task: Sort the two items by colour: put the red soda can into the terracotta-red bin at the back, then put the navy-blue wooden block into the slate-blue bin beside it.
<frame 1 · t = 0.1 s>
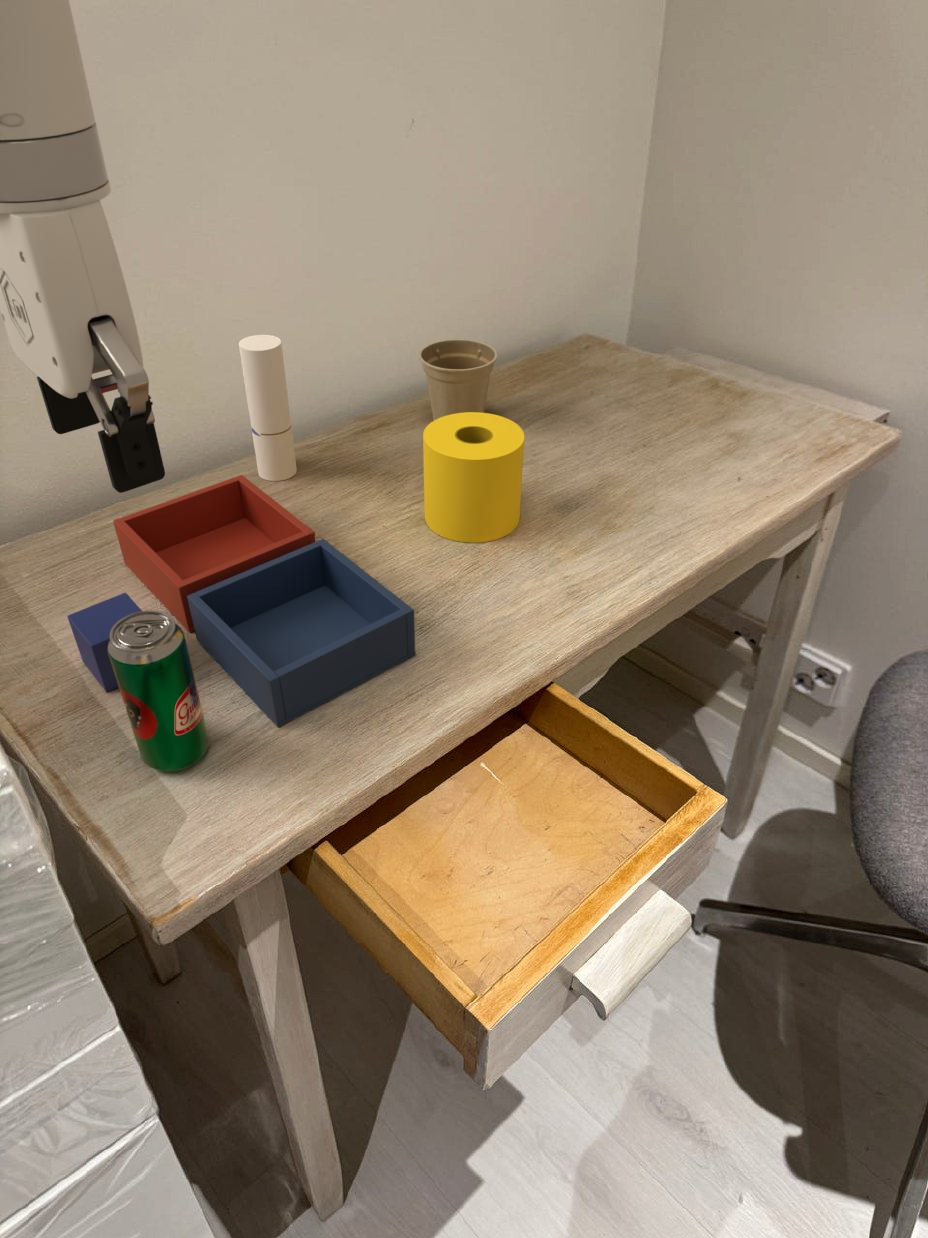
hand: (107, 454, 58), 22 cm above the table, tool pointing down, fingers open, 9 cm apart
tape roll: (472, 517, 94), on the table
flower pot: (457, 421, 111), on the table
soda can: (177, 752, 68), on the table
red bin: (221, 569, 86), on the table
blue block: (123, 664, 75), on the table
blue bin: (305, 648, 77), on the table
tube: (277, 472, 101), on the table
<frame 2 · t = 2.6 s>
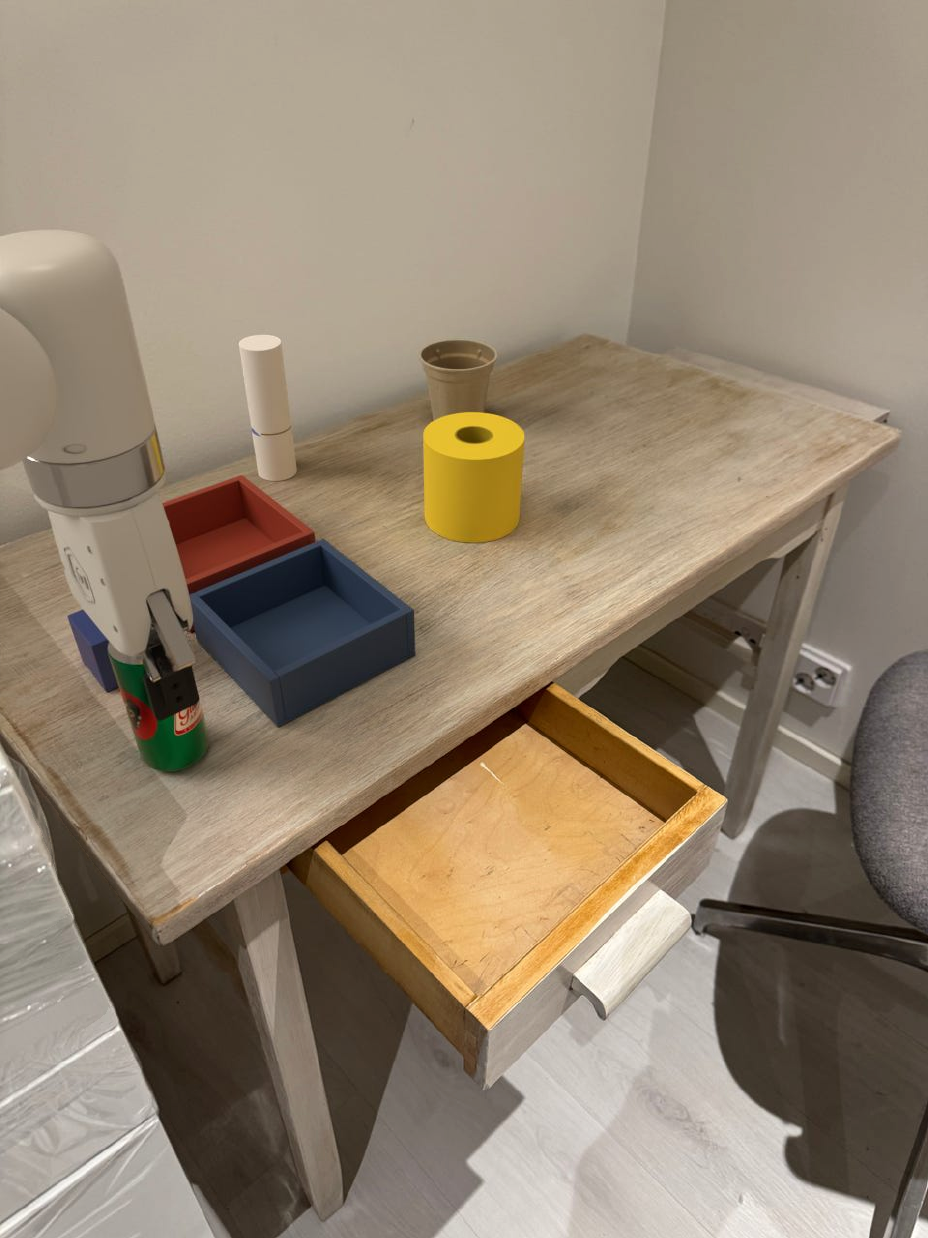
hand: (158, 685, 64), 7 cm above the table, tool pointing down, fingers closed on soda can, 5 cm apart
soda can: (177, 752, 68), on the table, touching gripper
everything else where it was.
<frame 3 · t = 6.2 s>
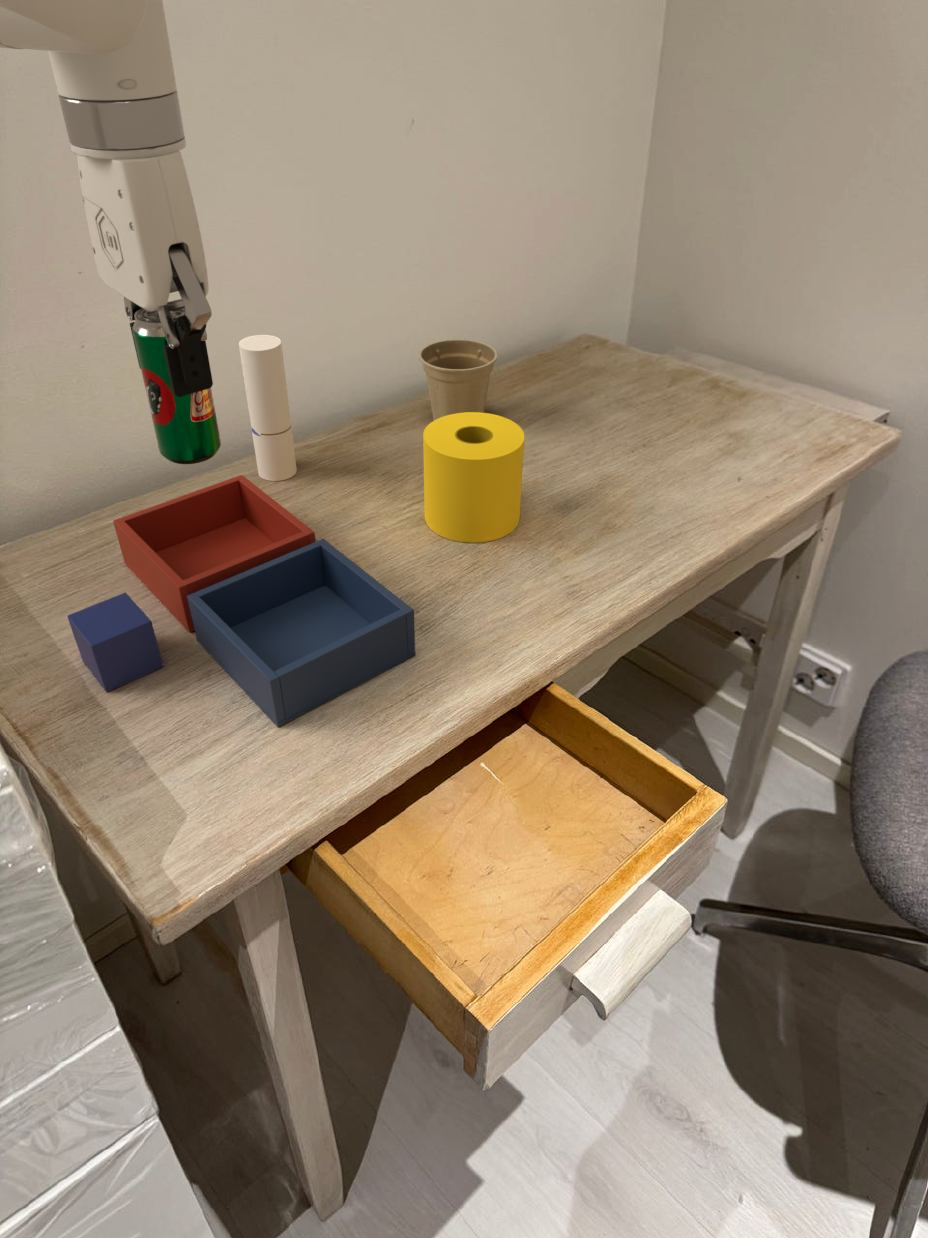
hand: (176, 376, 71), 21 cm above the table, tool pointing down, fingers closed on soda can, 5 cm apart
soda can: (192, 454, 76), point 14 cm above the table, touching gripper
everything else where it was.
when the fingers open (7 cm above the table, at t = 9.7 s): soda can stays where it is, resting on red bin.
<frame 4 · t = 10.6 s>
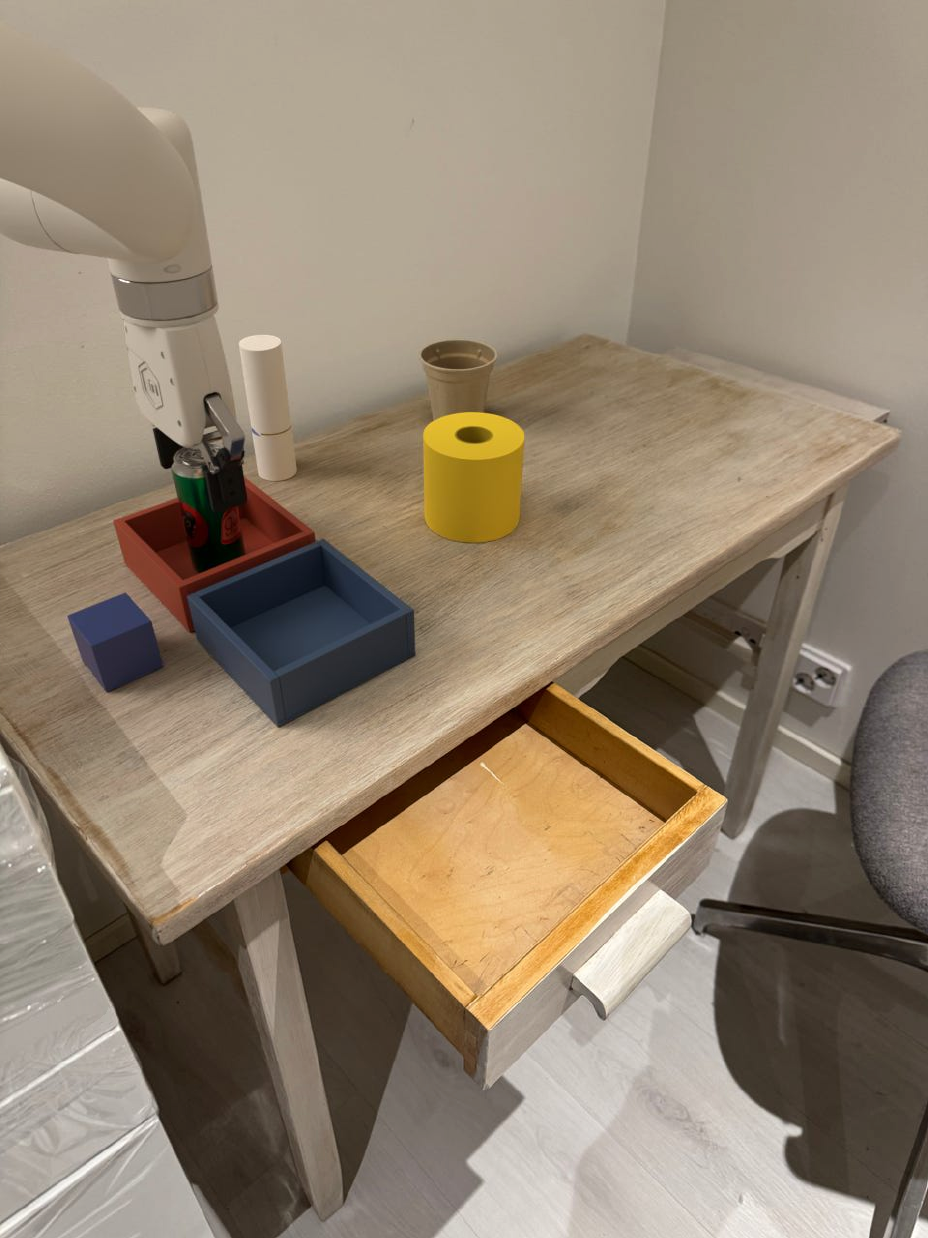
hand: (203, 484, 80), 10 cm above the table, tool pointing down, fingers open, 9 cm apart
soda can: (220, 567, 86), resting on red bin
everything else where it was.
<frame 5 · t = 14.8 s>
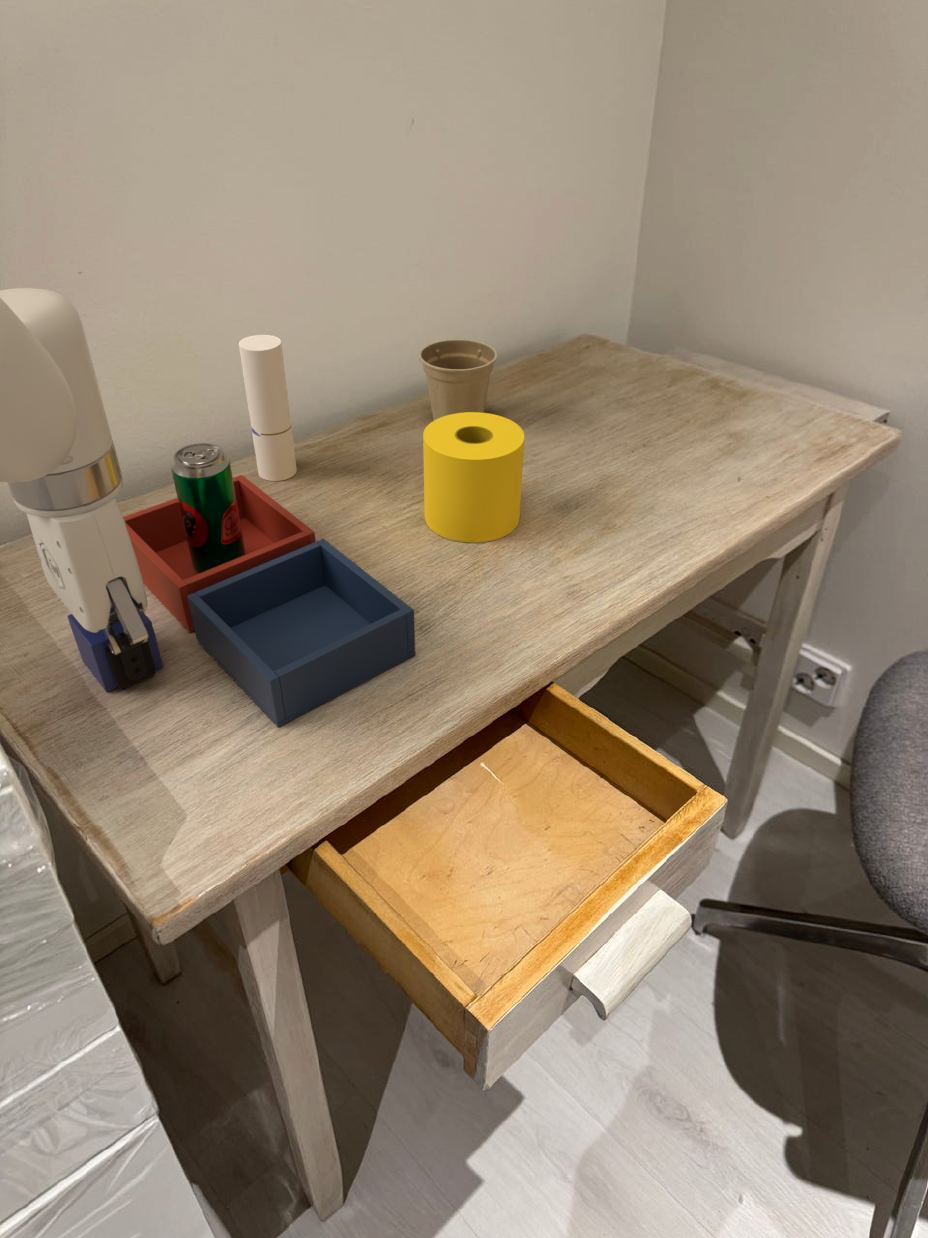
hand: (122, 660, 75), 0 cm above the table, tool pointing down, fingers closed on blue block, 5 cm apart
blue block: (123, 664, 75), on the table, touching gripper
everything else where it was.
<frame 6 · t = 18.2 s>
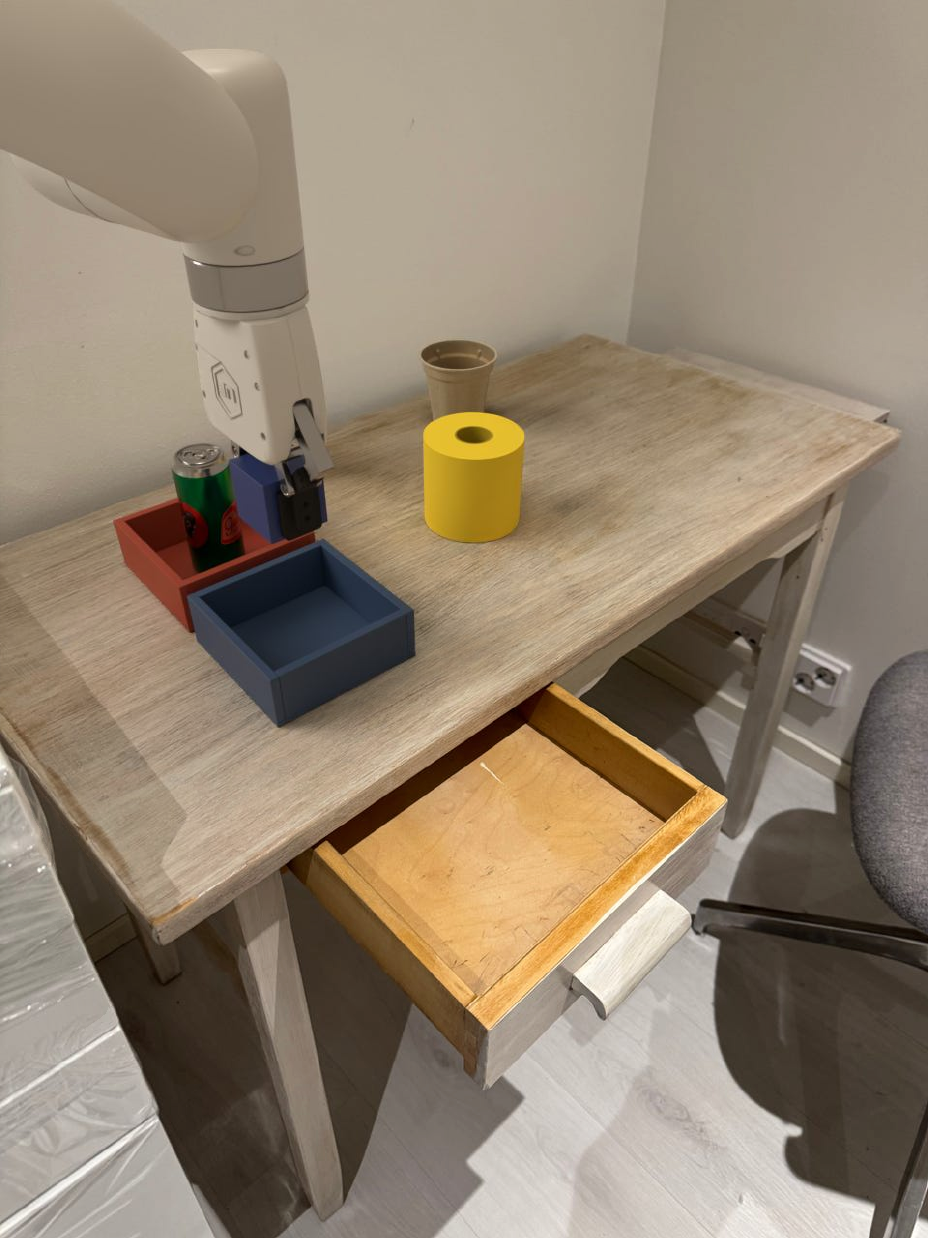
hand: (282, 514, 69), 14 cm above the table, tool pointing down, fingers closed on blue block, 5 cm apart
blue block: (283, 519, 69), point 13 cm above the table, touching gripper
everything else where it was.
when the fingers open (2 cm above the table, at t = 21.5 s): blue block stays where it is, resting on blue bin.
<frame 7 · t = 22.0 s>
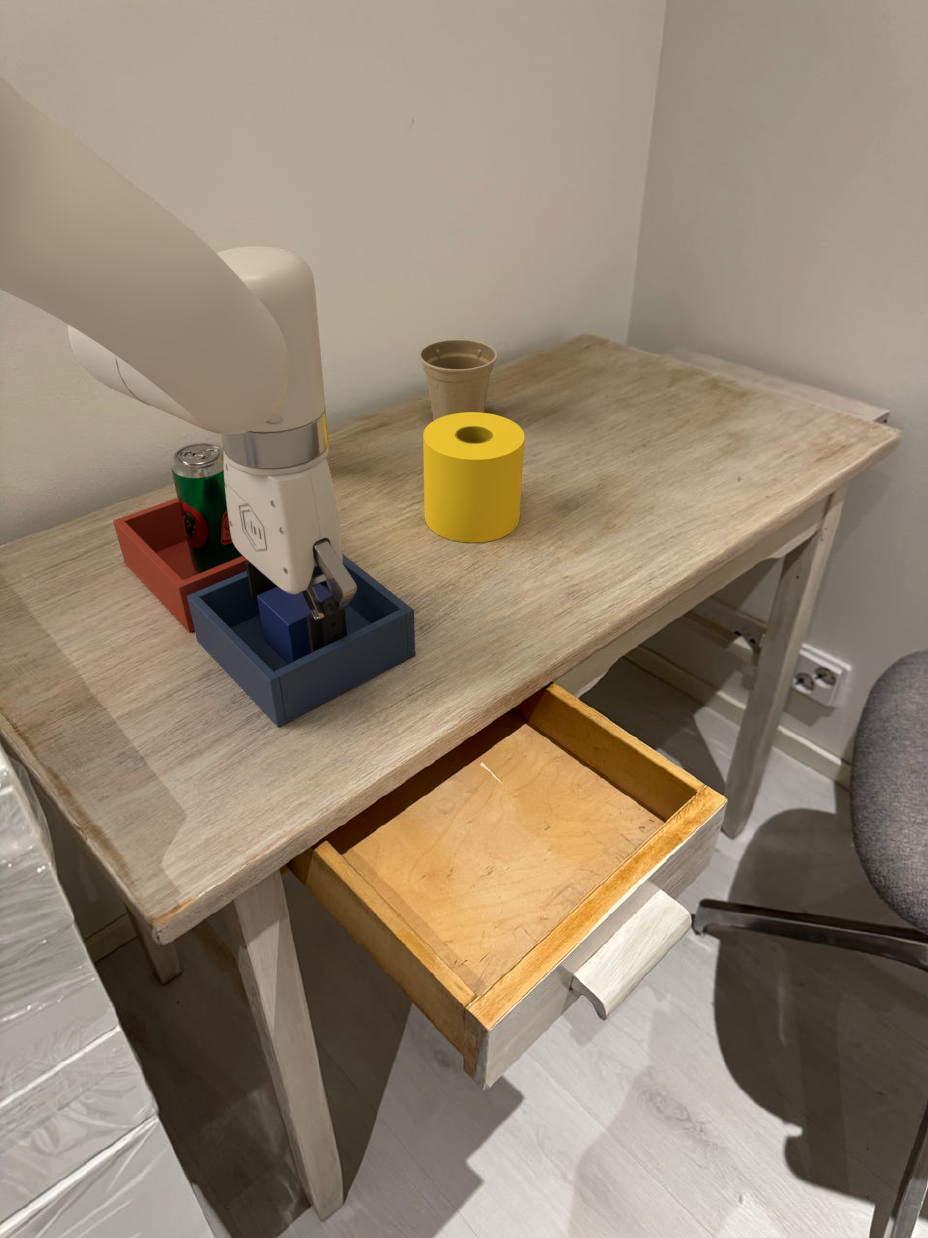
hand: (298, 619, 75), 3 cm above the table, tool pointing down, fingers open, 9 cm apart
blue block: (304, 644, 77), resting on blue bin
everything else where it was.
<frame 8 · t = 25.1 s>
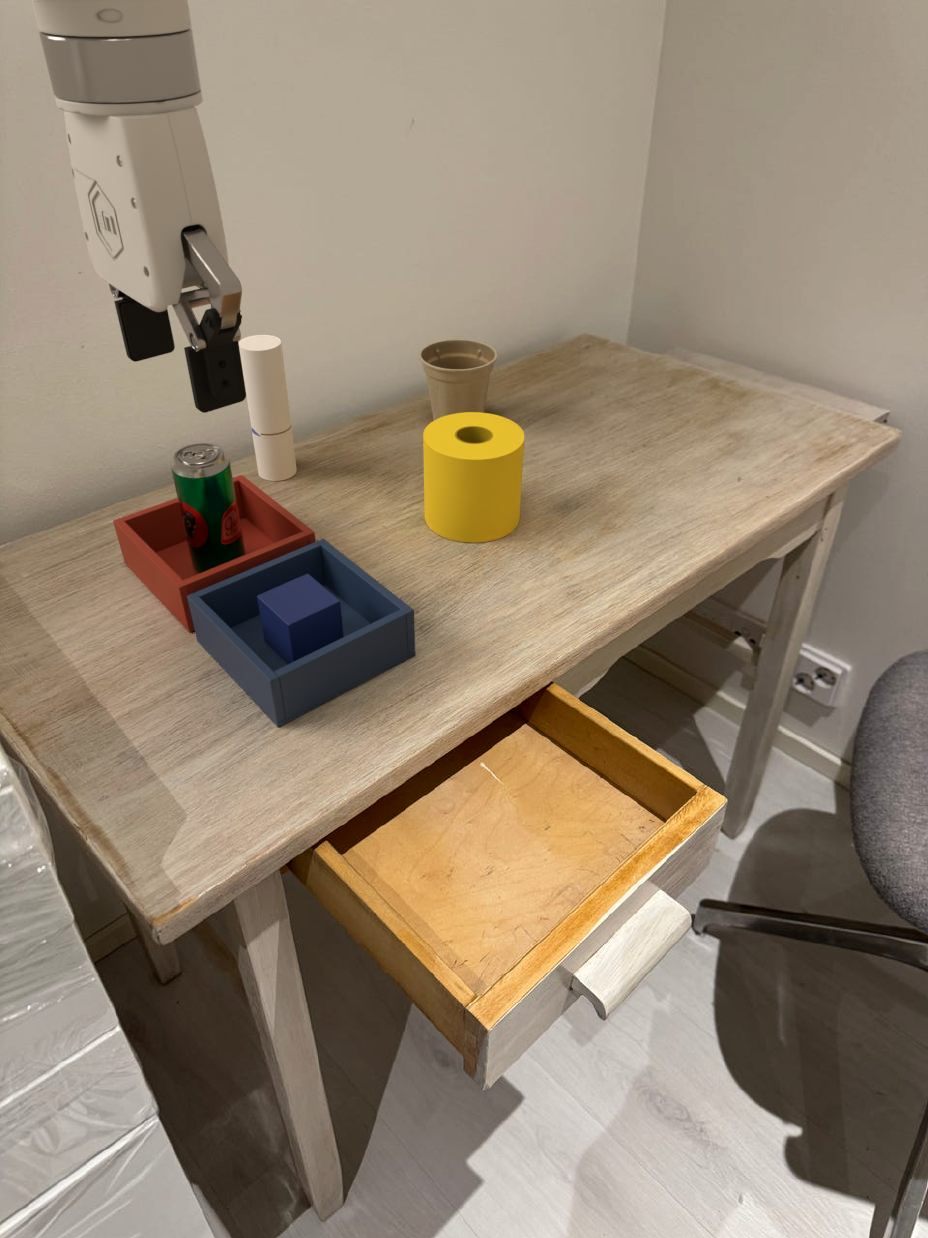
hand: (185, 379, 58), 26 cm above the table, tool pointing down, fingers open, 9 cm apart
nothing on the table moved.
at the end: soda can inside the target area in the red bin (0.1 cm from its centre), point 0.3 cm above the red bin's base; soda can tilted 0°; blue block inside the target area in the blue bin (0.0 cm from its centre), point 0.5 cm above the blue bin's base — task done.
